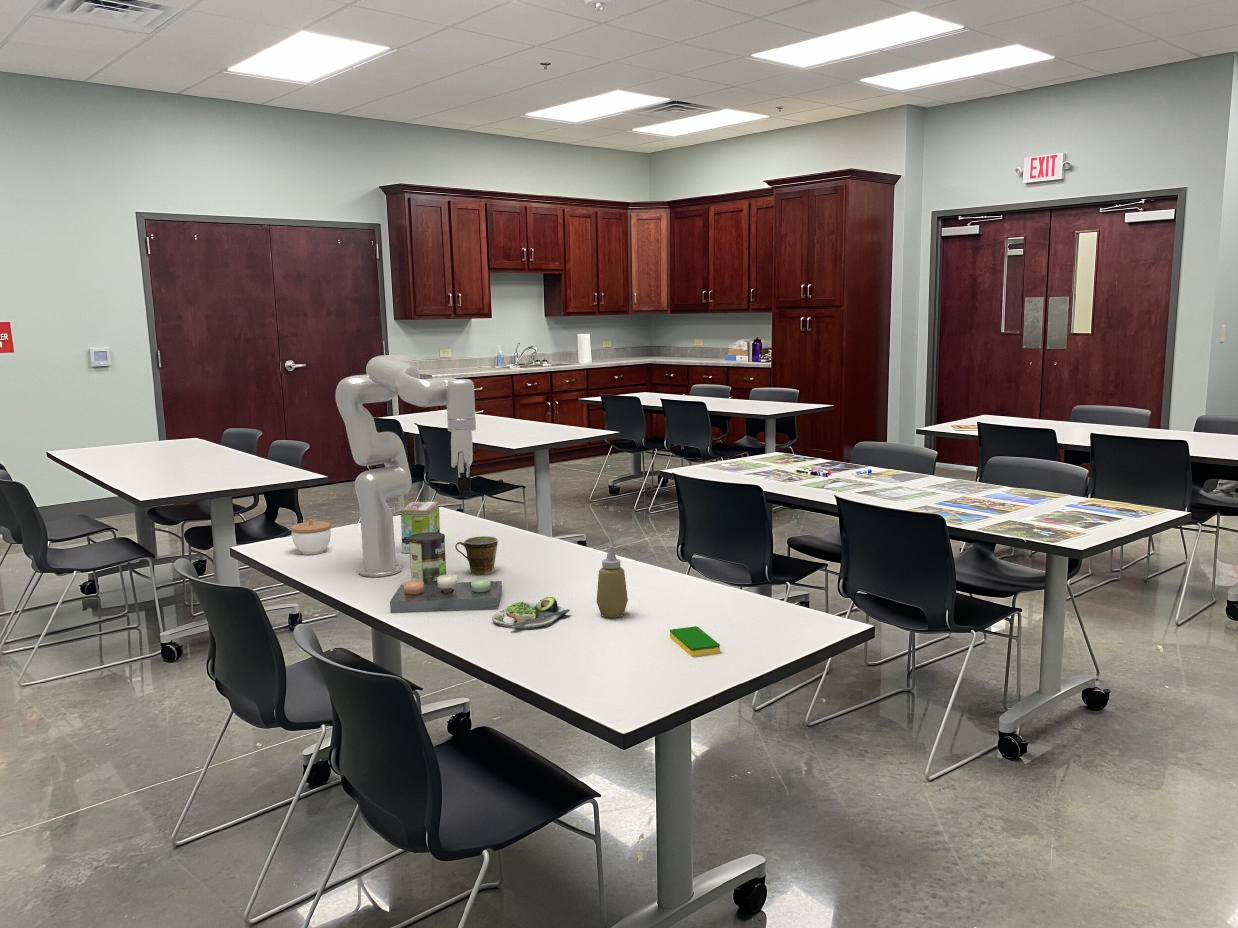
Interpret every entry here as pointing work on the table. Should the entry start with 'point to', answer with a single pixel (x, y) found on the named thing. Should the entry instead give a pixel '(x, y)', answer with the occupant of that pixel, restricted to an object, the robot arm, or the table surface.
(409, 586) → the brown egg
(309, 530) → the lidded bowl
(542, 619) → the avocado toast plate
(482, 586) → the button sage
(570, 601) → the table surface
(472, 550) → the ceramic cup
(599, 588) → the squeeze bottle
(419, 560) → the coffee can
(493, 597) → the panel
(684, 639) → the dish sponge
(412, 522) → the tea box
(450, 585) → the button cream
